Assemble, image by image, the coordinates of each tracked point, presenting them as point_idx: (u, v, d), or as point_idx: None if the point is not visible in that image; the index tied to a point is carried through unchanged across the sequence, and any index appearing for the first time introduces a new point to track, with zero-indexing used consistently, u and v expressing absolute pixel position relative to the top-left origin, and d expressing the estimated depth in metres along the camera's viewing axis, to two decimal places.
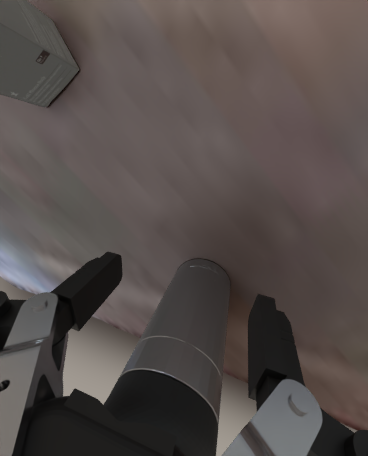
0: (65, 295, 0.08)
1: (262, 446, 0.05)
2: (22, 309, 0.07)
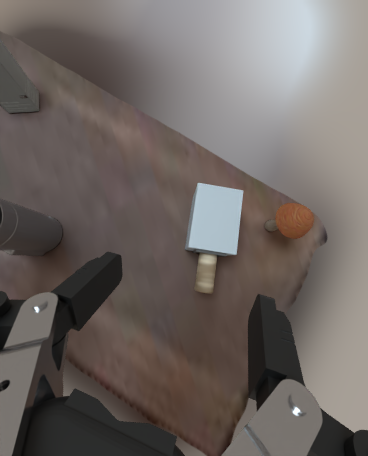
0: (65, 295, 0.08)
1: (262, 446, 0.05)
2: (22, 309, 0.07)
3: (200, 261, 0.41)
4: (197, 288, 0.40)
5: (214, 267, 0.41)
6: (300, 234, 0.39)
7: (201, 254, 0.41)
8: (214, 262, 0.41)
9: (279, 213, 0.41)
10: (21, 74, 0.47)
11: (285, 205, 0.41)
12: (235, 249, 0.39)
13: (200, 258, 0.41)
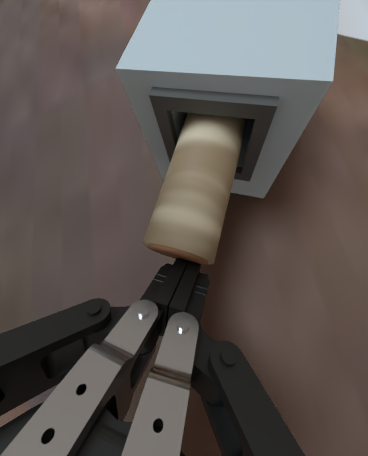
0: (160, 302, 0.08)
1: (167, 372, 0.06)
2: (130, 316, 0.07)
3: (177, 145, 0.11)
4: (147, 232, 0.10)
5: (226, 161, 0.10)
6: None
7: (183, 125, 0.12)
8: (227, 142, 0.10)
9: None
10: None
11: None
12: (326, 63, 0.08)
13: (179, 138, 0.12)
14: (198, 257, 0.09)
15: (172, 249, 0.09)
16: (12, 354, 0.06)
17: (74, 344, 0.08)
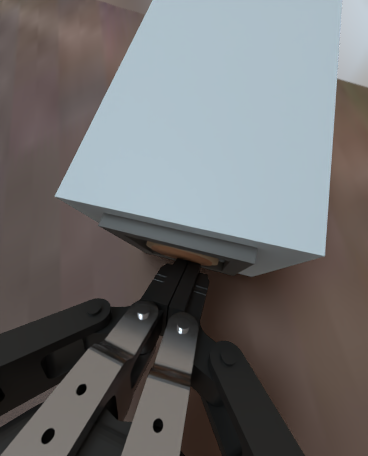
0: (161, 302, 0.08)
1: (167, 372, 0.06)
2: (130, 317, 0.07)
3: None
4: None
5: None
6: None
7: None
8: None
9: None
10: None
11: None
12: (316, 222, 0.06)
13: None
14: (202, 258, 0.09)
15: (176, 251, 0.09)
16: (12, 354, 0.06)
17: (74, 344, 0.08)
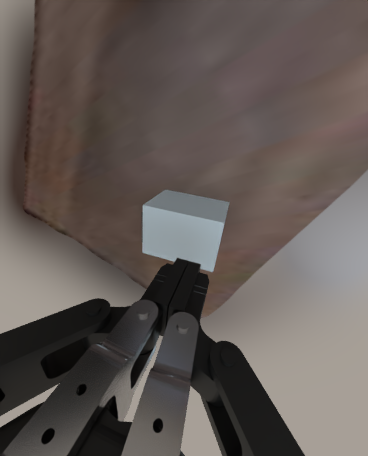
0: (161, 302, 0.08)
1: (167, 372, 0.06)
2: (130, 317, 0.07)
3: None
4: None
5: None
6: None
7: None
8: None
9: None
10: None
11: None
12: (147, 252, 0.37)
13: None
14: None
15: None
16: (12, 354, 0.06)
17: (74, 344, 0.08)
